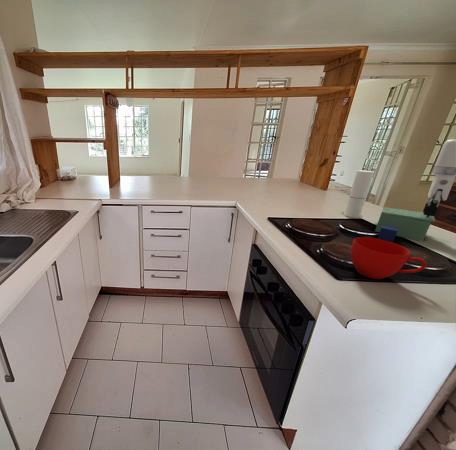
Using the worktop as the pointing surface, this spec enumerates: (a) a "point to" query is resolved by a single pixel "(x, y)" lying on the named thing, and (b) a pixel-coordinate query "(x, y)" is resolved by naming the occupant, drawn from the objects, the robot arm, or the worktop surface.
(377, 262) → the ceramic cup
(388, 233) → the blue cube
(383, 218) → the green rectangular box
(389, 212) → the lid
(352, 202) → the cylindrical container
